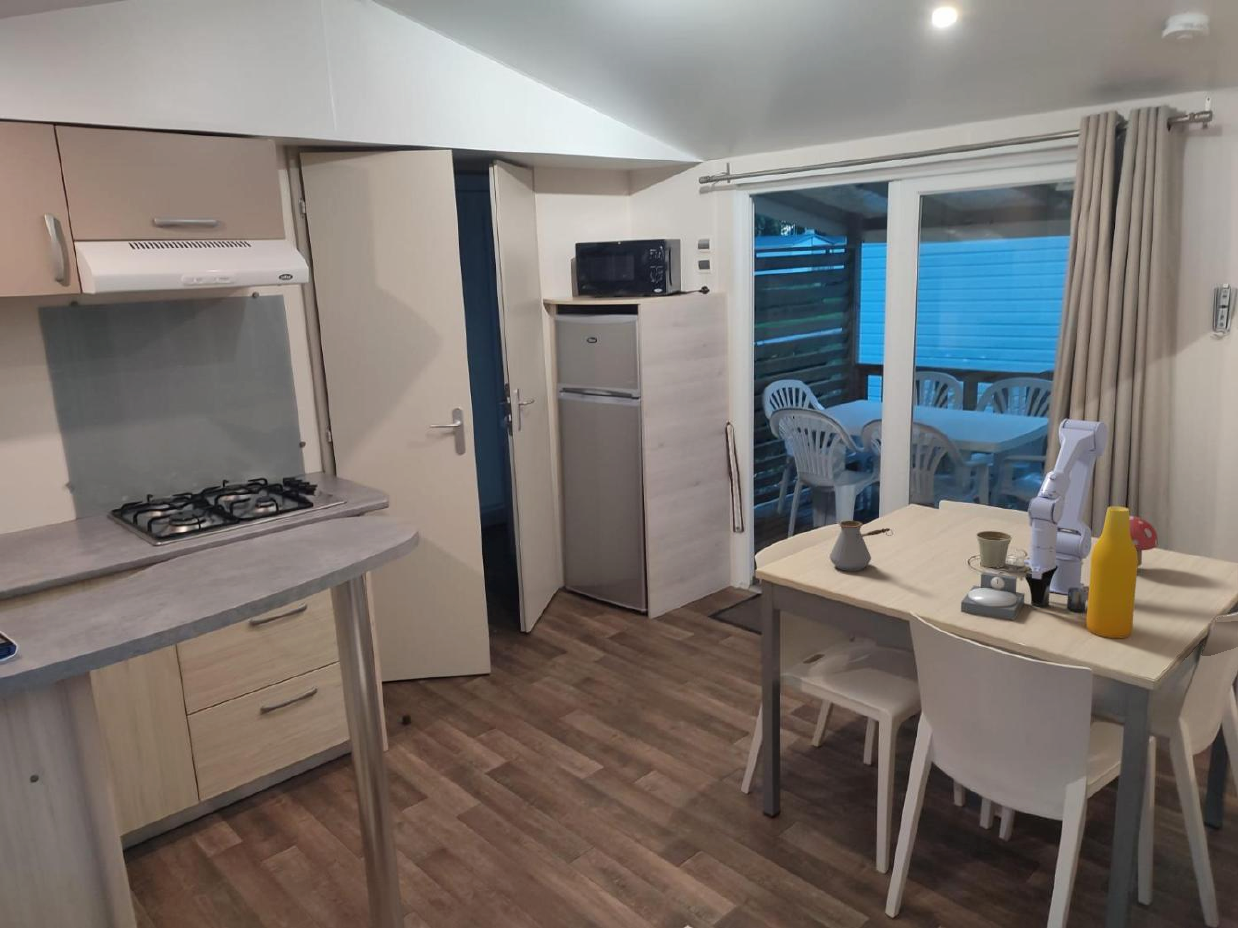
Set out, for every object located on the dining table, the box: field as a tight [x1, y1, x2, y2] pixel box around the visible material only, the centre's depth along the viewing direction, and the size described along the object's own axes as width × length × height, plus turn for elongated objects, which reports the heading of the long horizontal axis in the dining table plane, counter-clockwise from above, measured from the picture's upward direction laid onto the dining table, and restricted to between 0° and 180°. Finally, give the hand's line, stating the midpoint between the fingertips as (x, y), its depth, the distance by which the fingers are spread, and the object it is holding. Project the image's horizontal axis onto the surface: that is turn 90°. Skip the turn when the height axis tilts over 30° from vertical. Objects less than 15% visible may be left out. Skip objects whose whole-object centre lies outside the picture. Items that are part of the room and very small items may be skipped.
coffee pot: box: [829, 520, 894, 572], centre depth 245 cm, size 21×12×15 cm, turn 27°
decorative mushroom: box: [1129, 515, 1159, 568], centre depth 237 cm, size 13×13×15 cm
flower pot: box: [975, 530, 1013, 569], centre depth 246 cm, size 9×9×9 cm
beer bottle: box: [1085, 505, 1139, 639], centre depth 197 cm, size 9×9×29 cm
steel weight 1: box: [1030, 585, 1051, 609], centre depth 216 cm, size 4×4×5 cm
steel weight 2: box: [1066, 588, 1088, 614], centre depth 212 cm, size 4×4×5 cm
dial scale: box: [960, 571, 1025, 621], centre depth 216 cm, size 13×12×6 cm
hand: (1040, 597), depth 217 cm, fingers open, 7 cm apart
